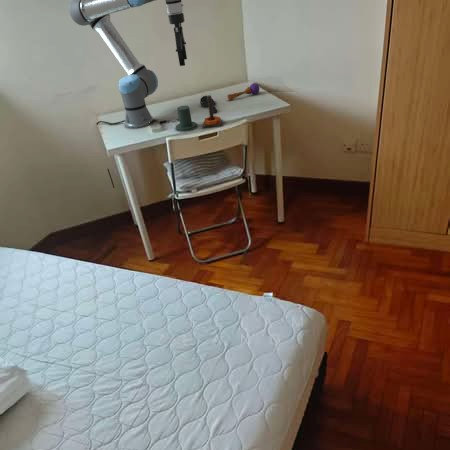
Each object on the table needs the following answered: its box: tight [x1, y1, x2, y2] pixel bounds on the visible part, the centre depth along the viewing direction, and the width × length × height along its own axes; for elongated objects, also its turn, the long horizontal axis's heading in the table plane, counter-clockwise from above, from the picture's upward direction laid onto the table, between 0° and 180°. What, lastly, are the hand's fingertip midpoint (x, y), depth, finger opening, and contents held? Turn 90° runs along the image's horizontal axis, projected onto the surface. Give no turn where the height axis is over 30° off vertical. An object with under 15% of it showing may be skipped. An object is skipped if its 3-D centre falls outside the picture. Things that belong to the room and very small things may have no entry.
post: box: [203, 94, 222, 129], centre depth 214 cm, size 9×9×14 cm
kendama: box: [226, 82, 260, 102], centre depth 246 cm, size 6×6×20 cm
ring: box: [203, 115, 221, 125], centre depth 217 cm, size 8×8×2 cm
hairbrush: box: [199, 94, 218, 114], centre depth 239 cm, size 8×4×25 cm
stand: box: [175, 105, 198, 132], centre depth 216 cm, size 11×11×10 cm
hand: (183, 62), depth 215 cm, fingers open, 13 cm apart
